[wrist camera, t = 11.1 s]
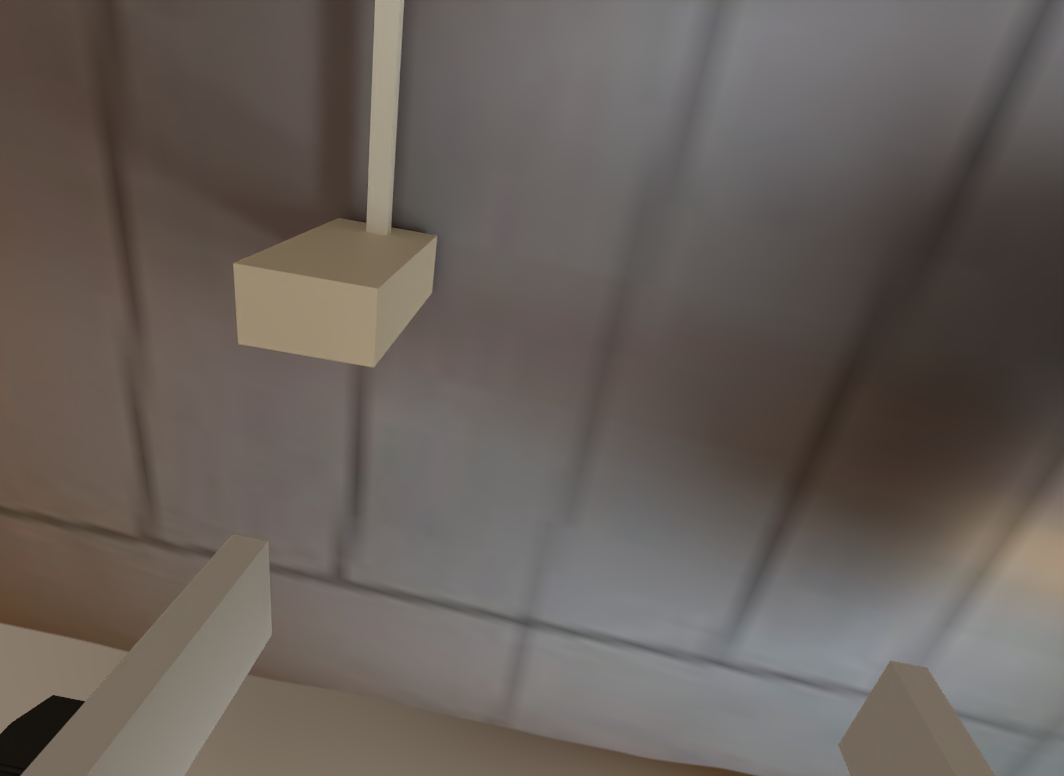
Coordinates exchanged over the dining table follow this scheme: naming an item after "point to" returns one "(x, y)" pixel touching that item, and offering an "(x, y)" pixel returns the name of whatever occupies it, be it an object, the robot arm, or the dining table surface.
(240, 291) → the block sled
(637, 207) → the dining table surface
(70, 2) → the dining table surface
